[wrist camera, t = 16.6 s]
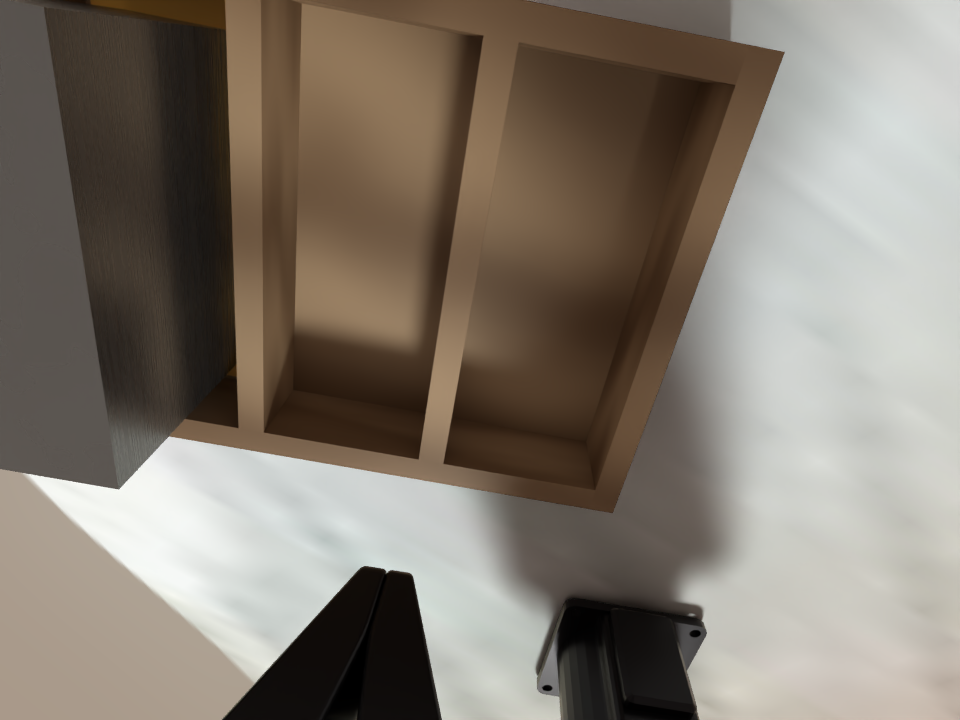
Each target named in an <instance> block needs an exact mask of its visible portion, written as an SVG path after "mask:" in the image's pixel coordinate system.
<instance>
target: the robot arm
mask: <svg viewBox="0 0 960 720" xmlns="http://www.w3.org/2000/svg"><path fill="white" fill-rule="evenodd" d="M706 634H707V632H706V629H705V626H704V623H703V622H702V621H701V620H699V619H696V618H690V617H684V616H678V615H672V614H666V613H660V612H654V611H648V610H642V609H636V608H630V607H624V606H619V605H613V604H607V603H601V602H595V601H589V600H583V599H576V598H572V599H568V600H567V601H565V603H564V604H563V607H562V610H561V613H560V615H559V618H558V621H557V624H556V627H555V630H554V632H553V635H552V638H551V641H550V644H549V646H548V649H547V652H546V655H545V658H544V661H543V663H542V666H541V669H540V672H539V675H538V677H537V689H538V691H539V692H540V693H542V694H546V695H553V696H559V698H560V713H561V720H699V716H698V713H697V706H696V702H695V699H694V695H693V691H692V688H691V684H690V681H689V677H688V674H687V669H688V668H689V666H690V664H691V662H692V660H693V658H694V657H695V655H696V653H697V651H698V649H699V648H700V646H701V644H702V642H703V640H704V638H705V637H706ZM222 720H442V718H441V713H440V708H439V703H438V698H437V693H436V688H435V683H434V678H433V673H432V668H431V664H430V659H429V654H428V649H427V644H426V639H425V634H424V629H423V624H422V619H421V614H420V609H419V604H418V599H417V594H416V589H415V584H414V579H413V576H412V574H410V573H406V572H400V571H394V570H390V571H388V573H387V572H386V571H385V570H384V569H381V568H375V567H368V566H364V567H361V568H360V569H359V570H358V571H357V572H356V573H355V574H354V575H353V576H352V578H351V579H350V580H349V581H348V582H347V583H346V584H345V585H344V586H343V587H342V589H341V590H340V591H339V592H338V593H337V594H336V595H335V596H334V597H333V598H332V599H331V601H330V602H329V603H328V604H327V605H326V606H325V607H324V608H323V609H322V610H321V612H320V613H319V614H318V615H317V616H316V617H315V618H314V619H313V620H312V621H311V623H310V624H309V625H308V626H307V627H306V628H305V629H304V630H303V631H302V632H301V633H300V635H299V636H298V637H297V638H296V639H295V640H294V641H293V642H292V643H291V644H290V646H289V647H288V648H287V649H286V650H285V651H284V652H283V653H282V654H281V655H280V656H279V658H278V659H277V660H276V661H275V662H274V663H273V664H272V665H271V666H270V667H269V669H268V670H267V671H266V672H265V673H264V674H263V675H262V676H261V677H260V678H259V679H258V681H257V682H256V683H255V684H254V685H253V686H252V687H251V688H250V689H249V691H248V692H247V693H246V694H245V695H244V696H243V697H242V698H241V699H240V700H239V701H238V703H237V704H236V705H235V706H234V707H233V708H232V709H231V710H230V711H229V712H228V713H227V715H226V716H225V717H224V718H223V719H222Z"/></svg>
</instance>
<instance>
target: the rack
mask: <svg viewBox="0 0 960 720" xmlns="http://www.w3.org/2000/svg"><path fill="white" fill-rule="evenodd" d="M64 1H71V2H78V3H85V4H92V5H98V6H105V7H112V8H119V9H125V10H130V11H135V12H140V13H145V14H150V15H155V16H160V17H165V18H170V19H175V20H180V21H185V22H190V23H195V24H201V25H206V26H211V27H216V28H221V29H226V42H227V74H228V106H229V138H230V170H231V202H232V233H233V265H234V297H235V329H236V361H237V364H236V365H235V366H234V367H233V368H232V370H231V371H230V372H229V373H228V374H227V375H226V376H225V377H224V378H223V379H222V380H221V381H220V382H219V383H218V384H217V386H216V387H215V388H214V389H213V390H212V391H211V392H210V393H209V394H208V395H207V396H206V397H205V398H204V399H203V400H202V401H201V403H200V404H199V405H198V406H197V407H196V408H195V409H194V410H193V411H192V412H191V413H190V414H189V415H188V416H187V417H186V418H185V420H184V421H183V422H182V423H181V424H180V425H179V426H178V427H177V428H176V429H175V430H174V431H173V432H172V433H171V434H170V436H171V437H176V438H182V439H188V440H194V441H199V442H205V443H211V444H217V445H223V446H228V447H234V448H240V449H246V450H251V451H257V452H263V453H269V454H274V455H280V456H286V457H292V458H298V459H303V460H309V461H315V462H321V463H326V464H332V465H338V466H344V467H350V468H355V469H361V470H367V471H373V472H378V473H384V474H390V475H396V476H401V477H407V478H413V479H419V480H425V481H430V482H436V483H442V484H448V485H453V486H459V487H465V488H471V489H477V490H482V491H488V492H494V493H500V494H505V495H511V496H517V497H523V498H528V499H534V500H540V501H546V502H552V503H557V504H563V505H569V506H575V507H580V508H586V509H592V510H598V511H604V512H609V513H613V511H614V508H615V505H616V503H617V500H618V497H619V495H620V492H621V489H622V487H623V484H624V481H625V479H626V476H627V473H628V471H629V468H630V465H631V463H632V460H633V457H634V455H635V452H636V449H637V447H638V444H639V441H640V438H641V436H642V433H643V430H644V428H645V425H646V422H647V420H648V417H649V414H650V412H651V409H652V406H653V404H654V401H655V398H656V396H657V393H658V390H659V388H660V385H661V382H662V380H663V377H664V374H665V371H666V369H667V366H668V363H669V361H670V358H671V355H672V353H673V350H674V347H675V345H676V342H677V339H678V337H679V334H680V331H681V329H682V326H683V323H684V321H685V318H686V315H687V313H688V310H689V307H690V304H691V302H692V299H693V296H694V294H695V291H696V288H697V286H698V283H699V280H700V278H701V275H702V272H703V270H704V267H705V264H706V262H707V259H708V256H709V254H710V251H711V248H712V246H713V243H714V240H715V237H716V235H717V232H718V229H719V227H720V224H721V221H722V219H723V216H724V213H725V211H726V208H727V205H728V203H729V200H730V197H731V195H732V192H733V189H734V187H735V184H736V181H737V179H738V176H739V173H740V171H741V168H742V165H743V162H744V160H745V157H746V154H747V152H748V149H749V146H750V144H751V141H752V138H753V136H754V133H755V130H756V128H757V125H758V122H759V120H760V117H761V114H762V112H763V109H764V106H765V104H766V101H767V98H768V95H769V93H770V90H771V87H772V85H773V82H774V79H775V77H776V74H777V71H778V69H779V66H780V63H781V61H782V58H783V55H784V53H785V52H781V51H776V50H771V49H766V48H761V47H756V46H751V45H746V44H741V43H736V42H731V41H726V40H721V39H716V38H711V37H706V36H701V35H696V34H691V33H686V32H681V31H676V30H671V29H666V28H661V27H656V26H651V25H646V24H641V23H636V22H631V21H626V20H621V19H616V18H611V17H606V16H601V15H596V14H591V13H586V12H581V11H576V10H571V9H566V8H561V7H556V6H551V5H546V4H541V3H536V2H531V1H526V0H64Z"/></svg>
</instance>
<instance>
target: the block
mask: <svg viewBox="0 0 960 720" xmlns="http://www.w3.org/2000/svg"><path fill="white" fill-rule="evenodd" d="M236 364H237V361H236V329H235V297H234V265H233V233H232V202H231V170H230V138H229V106H228V74H227V42H226V29H221V28H216V27H211V26H206V25H201V24H195V23H190V22H185V21H180V20H175V19H170V18H165V17H160V16H155V15H150V14H145V13H140V12H135V11H130V10H125V9H119V8H112V7H105V6H98V5H92V4H85V3H78V2H71V1H64V0H0V469H4V470H10V471H15V472H21V473H27V474H33V475H39V476H44V477H50V478H56V479H62V480H68V481H73V482H79V483H85V484H91V485H97V486H102V487H108V488H114V489H120V488H121V487H122V486H123V484H124V483H125V482H126V481H127V480H128V479H129V478H130V477H131V476H132V475H133V474H134V473H135V472H136V471H137V470H138V468H139V467H140V466H141V465H142V464H143V463H144V462H145V461H146V460H147V459H148V458H149V457H150V456H151V455H152V454H153V453H154V451H155V450H156V449H157V448H158V447H159V446H160V445H161V444H162V443H163V442H164V441H165V440H166V439H167V438H168V437H169V436H170V434H171V433H172V432H173V431H174V430H175V429H176V428H177V427H178V426H179V425H180V424H181V423H182V422H183V421H184V420H185V418H186V417H187V416H188V415H189V414H190V413H191V412H192V411H193V410H194V409H195V408H196V407H197V406H198V405H199V404H200V403H201V401H202V400H203V399H204V398H205V397H206V396H207V395H208V394H209V393H210V392H211V391H212V390H213V389H214V388H215V387H216V386H217V384H218V383H219V382H220V381H221V380H222V379H223V378H224V377H225V376H226V375H227V374H228V373H229V372H230V371H231V370H232V368H233V367H234V366H235V365H236Z"/></svg>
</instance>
